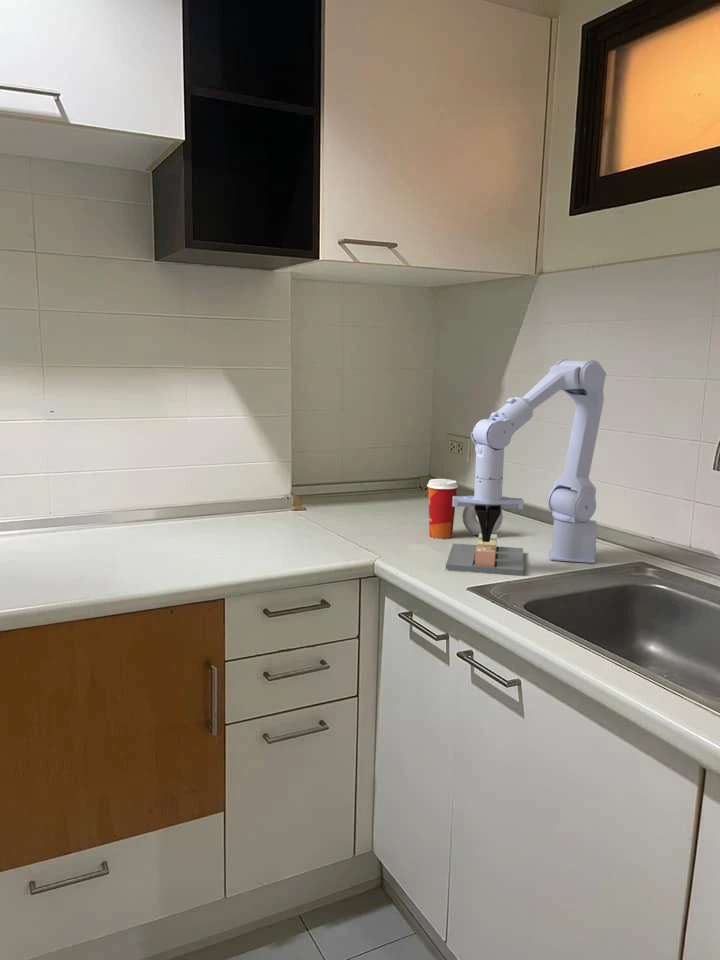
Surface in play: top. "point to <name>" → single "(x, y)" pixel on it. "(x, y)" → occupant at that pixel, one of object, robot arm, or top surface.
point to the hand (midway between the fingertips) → (485, 540)
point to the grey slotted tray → (506, 564)
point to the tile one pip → (493, 537)
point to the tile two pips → (487, 544)
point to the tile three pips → (485, 556)
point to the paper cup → (441, 507)
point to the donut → (473, 524)
